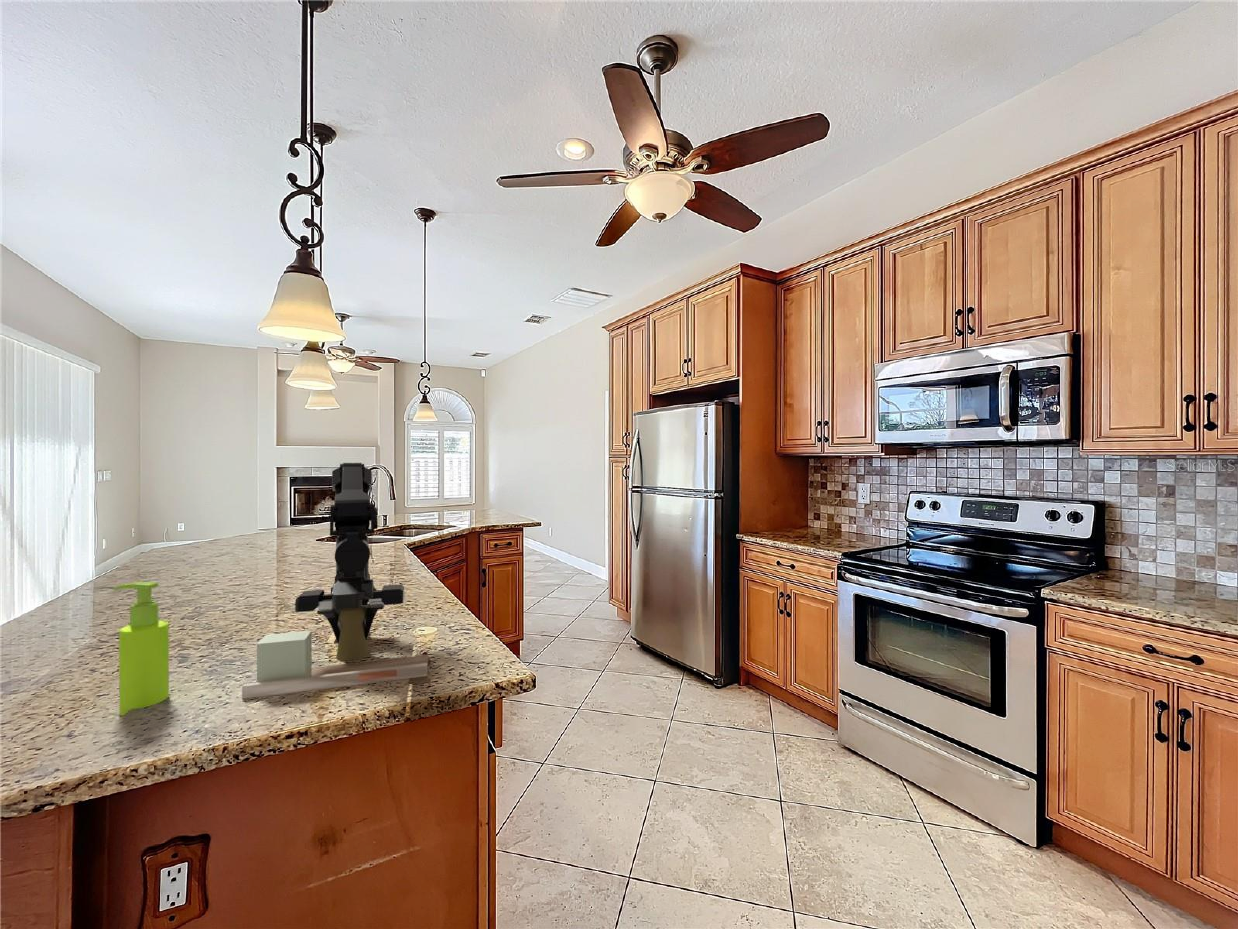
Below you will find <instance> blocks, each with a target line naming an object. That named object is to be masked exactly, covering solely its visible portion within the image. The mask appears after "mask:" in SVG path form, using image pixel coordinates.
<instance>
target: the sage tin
mask: <svg viewBox="0 0 1238 929" xmlns="http://www.w3.org/2000/svg"><path fill="white" fill-rule="evenodd" d="M312 638H313V637H312V630H305V631H293V632H282V633H273V634H271V633H270V634H265V635H264V636H263V637H262V638H261V639H260V640H259V641H258V642H257V643H256V681H257V682H265V681H273V680H282V679H291V678H299V677H308V676H312V668H313V667H312V664H313V663H312V662H313V660H312V657H313V656H312Z"/></svg>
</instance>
